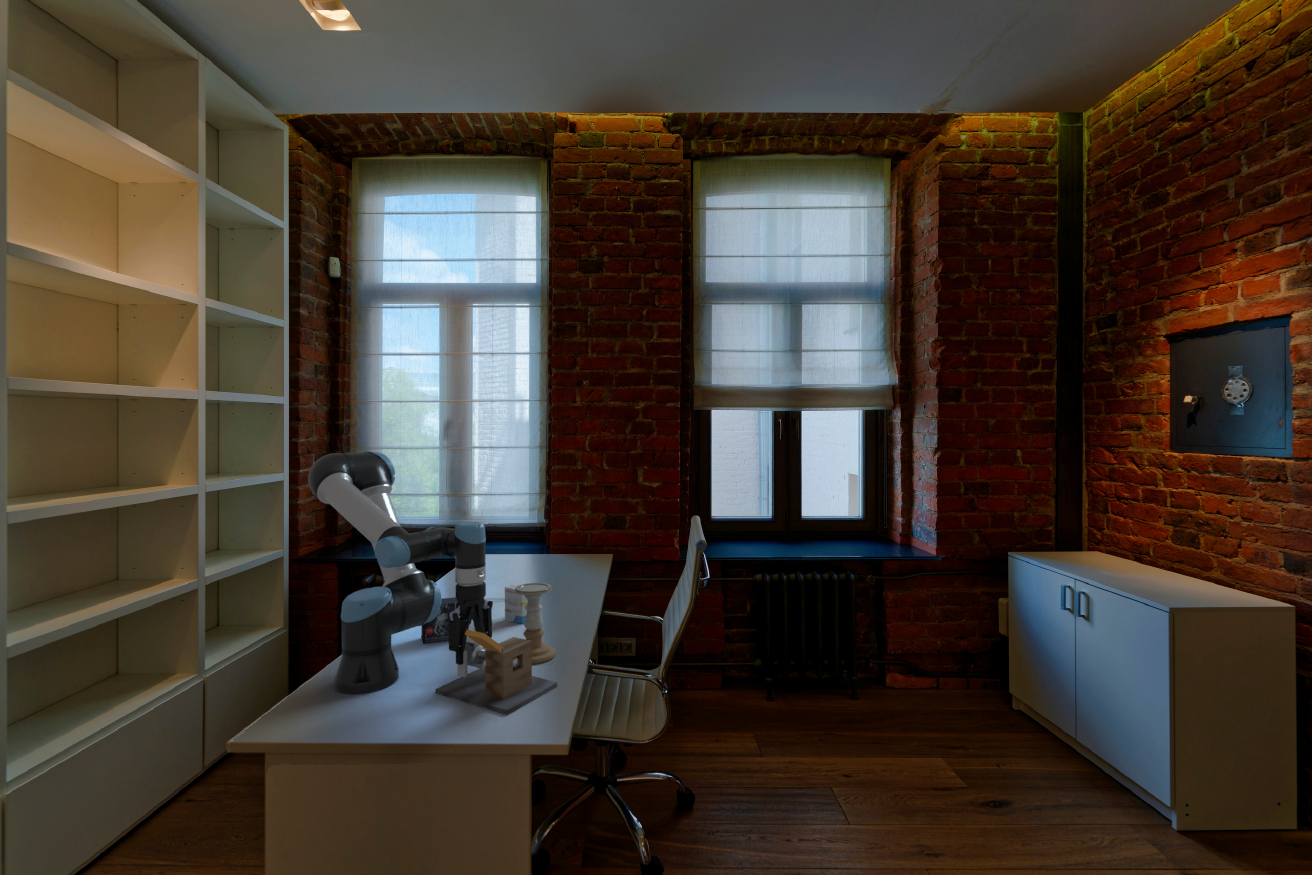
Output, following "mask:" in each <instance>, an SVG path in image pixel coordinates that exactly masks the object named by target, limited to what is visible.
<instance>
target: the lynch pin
mask: <svg viewBox="0 0 1312 875" xmlns="http://www.w3.org/2000/svg"><path fill="white" fill-rule="evenodd" d="M485 649H486V648H483V647H482V646H481V645H479V644H478V643H476V642H475V641H473V640H472V639H471V638H469V637H468V636H467V640H466V645H465V651H467V666H470V667H473V668H476V667H475V666H477V665H479V664H482V663H483V662H484V661H485ZM519 663H520V659H519V658H517V657H514V658H513V667H514V668H517V667H518V666H519Z"/></svg>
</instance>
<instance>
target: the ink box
mask: <svg viewBox="0 0 1312 875" xmlns="http://www.w3.org/2000/svg"><path fill="white" fill-rule="evenodd" d="M527 583H528V582H522V581H521V582H516V583H514V584H510V585H508V586H505V587H504V621H506V622H511V623H515V624H521V625H524V622H525V619H526V614H527V610H526V609H525V606H526V605H527V603H528V601H527V598H526V597H525V596H524V595H521V594H518V593H516V592H515V588H516V587H517V586H519V585H522V584H527Z"/></svg>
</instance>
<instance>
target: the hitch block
mask: <svg viewBox="0 0 1312 875" xmlns="http://www.w3.org/2000/svg"><path fill="white" fill-rule="evenodd" d="M497 643H498V644H500V645H501V646H502V647H503V648H504V652H499V651H495V650H490V649H485V668H484V669H479V668H477V669H476V670H473V671H472V672H469V673H467V677H462V676H460V677H459V678H456V679H455V680H452V681H450V682H448V683H446V684H443V685H442V686H439V687H437V688H435V692H434V693H435V694H438V695H441V696H444V697H448V698H451V699H455V700H457V701H460V702H464V703H467V704H471V705H474V706H477V707H481V708H484V709H488V710H489V711H490V710H491V711H494V712H497V713H500V714H503V715H506V716H507V715H510V714H511V713H514V712H515V711H517V710H518V709H520V708H522V707H524V706H525V705H527V704H529V703H531V702H532V701H535V700H536V699H538V698H539V697H541V696H543V695H544V694H547V693H548V692H550V691H551V690H554V689H555V688H557V687H558V681H554V680H549V679H547V678H546V679H545V678H542V677H539V676H534V675H533V673H532V669H533V668H532V666H533V664H532V641H530V640H526V638H525V639H524V638H520V637H515V636H512V637H510V638H508V639H505V640H503V641H501V642H497ZM514 657H517V658H519V659H520V663H519V666H518V667H517V668H514V667H513V658H514Z"/></svg>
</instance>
